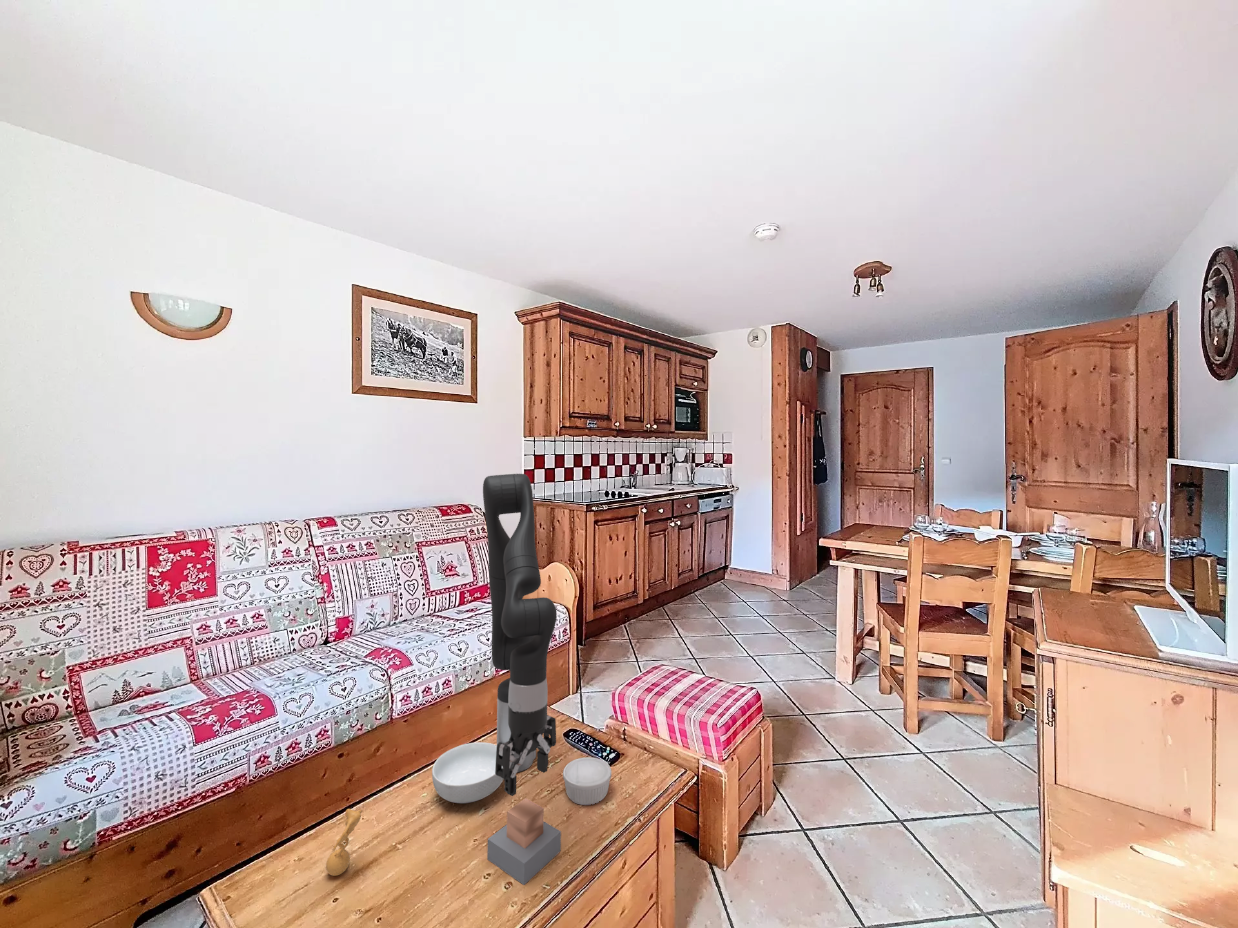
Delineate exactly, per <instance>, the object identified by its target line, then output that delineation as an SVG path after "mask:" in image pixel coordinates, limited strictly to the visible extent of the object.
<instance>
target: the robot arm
mask: <svg viewBox="0 0 1238 928" xmlns="http://www.w3.org/2000/svg"><path fill="white" fill-rule="evenodd" d="M533 495H534V494H533V488H532V482H531V480H530V478H529V476H528V475H527V474H525V473H511V474H510V473H509V474H495V475H494V474H493V475H488V476H486V477H485V478H484V480H483V484H482V497H483V509H484V516H485V523H486V524H485V525H486V534H487V545H488V548H487V550H488V578H489V579H488V580H489V592H490V602H491V603H490V604H491V605H490V606H491V661H492V664H493V666H494V669H496V670H499V671H500V670H501V671H509V678H507V679H504V680H503V681H501V682H500V683H499V685H498V687H497V699H496V700H497V703H496V710H497V712H496V745H497V749H496V767H495V774H496V775H497V776H499V777H501V778H503V781H504V782H503V783H504V785H503V787H504V789H503V791H504V792H505V793H506V794H507V795H510V796H511V797H513V796H515V795H516V794H517V773H520V772H523V771H525V770H527V769H529V768H530V767H531V766H532V764H533V763H534V760H535V759H536V769H537V771H539V772H541V773H543V774H544V773H547V771H548V767H549V753H550V751H551V748H552V747H555V746H556V745H557V723H556V721H557V720H556V718H555V717H554V716H550V715H549V714H548V682H547V681H548V680H547V670H548V669H547V665H548V663H547V662H548V661H547V657H548V653H549V648H550V643H551V640H552V636H553V633H554V630H555V627H556V623H557V619H558V618H557V617H558V614H557V613H558V612H557V608H556V605H555V604H554V602H553V600H552V599H550V598H548V597H535V598H524V597H525V596H529V595H531V594H533V593H535V592H536V591H538V590H539V588H540V587H541V584H542V580H541V572H540V567H539V561H538V555H537V549H536V548H537V547H536V533H535V532H536V527H535V510H534V509H535V507H534V496H533ZM518 513H520V514H519V515H520V516H519V517H520V518H519V521H518V524H517V526H516V528H515V530H514V531H513V533H512V535H511V537H510V536H509V535H508V533H507V531H506V530H505V528H504V526H503V525H502V522H501V520H500V516H501V515H506V514H507V515H509V514H510V515H511V514H518ZM502 766H503V768H502Z"/></svg>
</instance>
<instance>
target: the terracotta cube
mask: <svg viewBox="0 0 1238 928" xmlns="http://www.w3.org/2000/svg"><path fill="white" fill-rule="evenodd" d="M543 821H544V807H543V806H541V805H540V804H537V803H536V802H534V801H532V800H531V799H530V798H529V799H528V798H527V797H524V798H523V799H522V800H520V801H519V802H518V803H516V804H515V805H514V806H513V807H511V808H510V809H508V810H507V811H506V825H507V837H508V838H509V839H511V840H512V841H514V842H515V843H517V844H519V845H520V846H522V847H523V848H526V847H527V846H529V845H530V844H531V843H532V842H533V841H534V840H536V839H537V838H538V837H539V836H540V835H541V834H543Z"/></svg>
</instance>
